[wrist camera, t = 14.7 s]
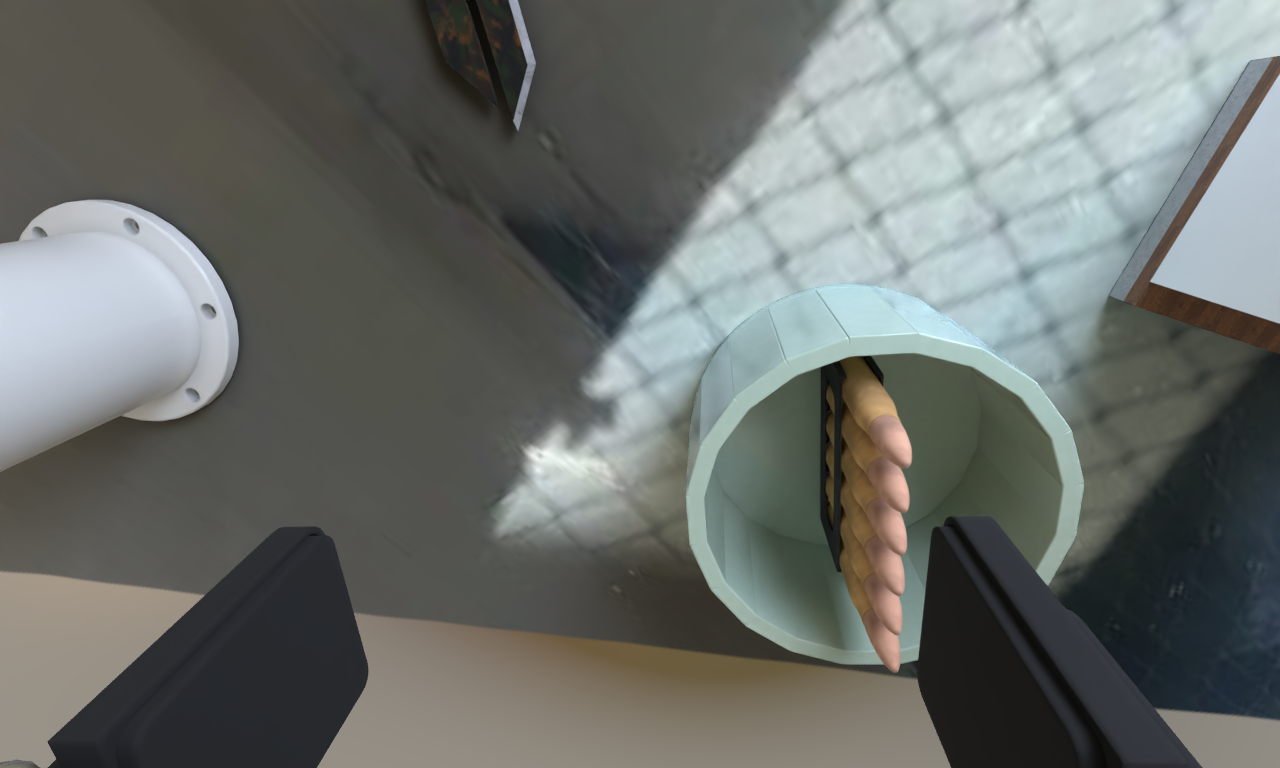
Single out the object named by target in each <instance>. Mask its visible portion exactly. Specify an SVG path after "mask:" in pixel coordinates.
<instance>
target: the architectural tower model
mask: <svg viewBox="0 0 1280 768" xmlns="http://www.w3.org/2000/svg"><path fill="white" fill-rule="evenodd" d="M1109 296H1111V297H1113V298H1116V299H1119V300H1121V301H1124V302H1126V303H1129V304H1131V305H1134V306H1137V307H1140V308H1143V309H1146V310H1149V311H1152V312H1155V313H1158V314H1161V315H1164V316H1167V317H1170V318H1173V319H1176V320H1179V321H1182V322H1185V323H1188V324H1191V325H1194V326H1197V327H1200V328H1203V329H1206V330H1209V331H1212V332H1215V333H1218V334H1221V335H1224V336H1227V337H1230V338H1233V339H1236V340H1239V341H1242V342H1245V343H1248V344H1251V345H1254V346H1257V347H1260V348H1263V349H1266V350H1269V351H1272V352H1275V353H1278V354H1280V56H1277V57H1270V58H1263V59H1257V60H1251V61H1250V63H1249V64H1248V66H1247V68H1246V69H1245V71H1244V73H1243V74H1242V76H1241V78H1240V79H1239V81H1238V83H1237V84H1236V86H1235V88H1234V89H1233V91H1232V93H1231V94H1230V96H1229V98H1228V99H1227V101H1226V102H1225V104H1224V106H1223V107H1222V109H1221V111H1220V112H1219V114H1218V116H1217V117H1216V119H1215V121H1214V122H1213V124H1212V126H1211V127H1210V129H1209V131H1208V132H1207V134H1206V136H1205V137H1204V139H1203V141H1202V142H1201V144H1200V146H1199V147H1198V149H1197V150H1196V152H1195V154H1194V155H1193V157H1192V159H1191V160H1190V162H1189V164H1188V165H1187V167H1186V169H1185V170H1184V172H1183V174H1182V175H1181V177H1180V179H1179V180H1178V182H1177V184H1176V185H1175V187H1174V189H1173V190H1172V192H1171V193H1170V195H1169V197H1168V198H1167V200H1166V202H1165V203H1164V205H1163V207H1162V208H1161V210H1160V212H1159V213H1158V215H1157V217H1156V218H1155V220H1154V222H1153V223H1152V225H1151V227H1150V228H1149V230H1148V232H1147V233H1146V235H1145V237H1144V238H1143V240H1142V241H1141V243H1140V245H1139V246H1138V248H1137V250H1136V251H1135V253H1134V255H1133V256H1132V258H1131V260H1130V261H1129V263H1128V265H1127V266H1126V268H1125V270H1124V271H1123V273H1122V275H1121V276H1120V278H1119V280H1118V281H1117V283H1116V284H1115V286H1114V288H1113V289H1112V291H1111V293H1110V294H1109Z"/></svg>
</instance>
